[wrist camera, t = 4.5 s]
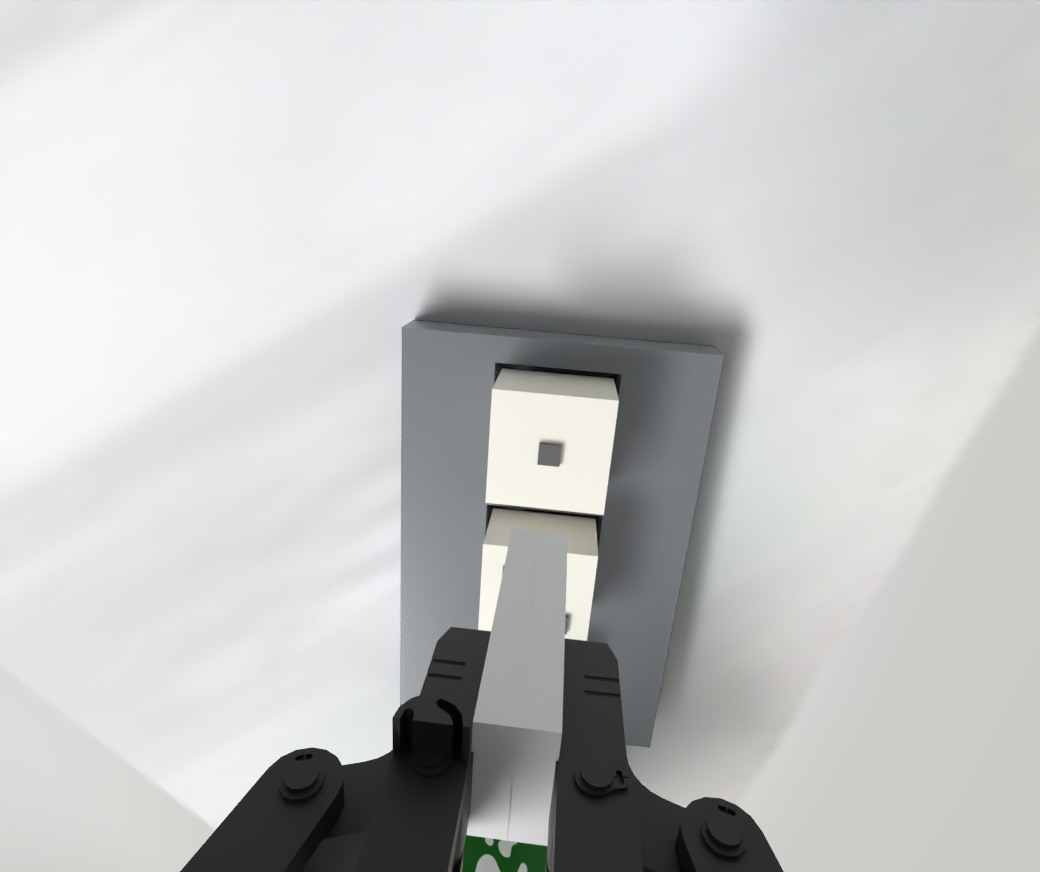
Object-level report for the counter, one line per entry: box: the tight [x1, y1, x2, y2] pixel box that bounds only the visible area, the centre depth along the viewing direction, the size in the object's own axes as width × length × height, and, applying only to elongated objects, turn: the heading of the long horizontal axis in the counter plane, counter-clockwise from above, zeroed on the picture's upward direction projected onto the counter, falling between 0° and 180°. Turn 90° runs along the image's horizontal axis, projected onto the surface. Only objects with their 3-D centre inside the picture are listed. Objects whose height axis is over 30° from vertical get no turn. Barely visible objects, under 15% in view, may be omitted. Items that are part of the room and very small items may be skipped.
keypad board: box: [400, 320, 724, 747], centre depth 31 cm, size 22×14×2 cm, turn 176°
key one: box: [485, 368, 619, 515], centre depth 26 cm, size 5×5×4 cm
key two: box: [478, 508, 598, 641], centre depth 29 cm, size 5×5×4 cm
